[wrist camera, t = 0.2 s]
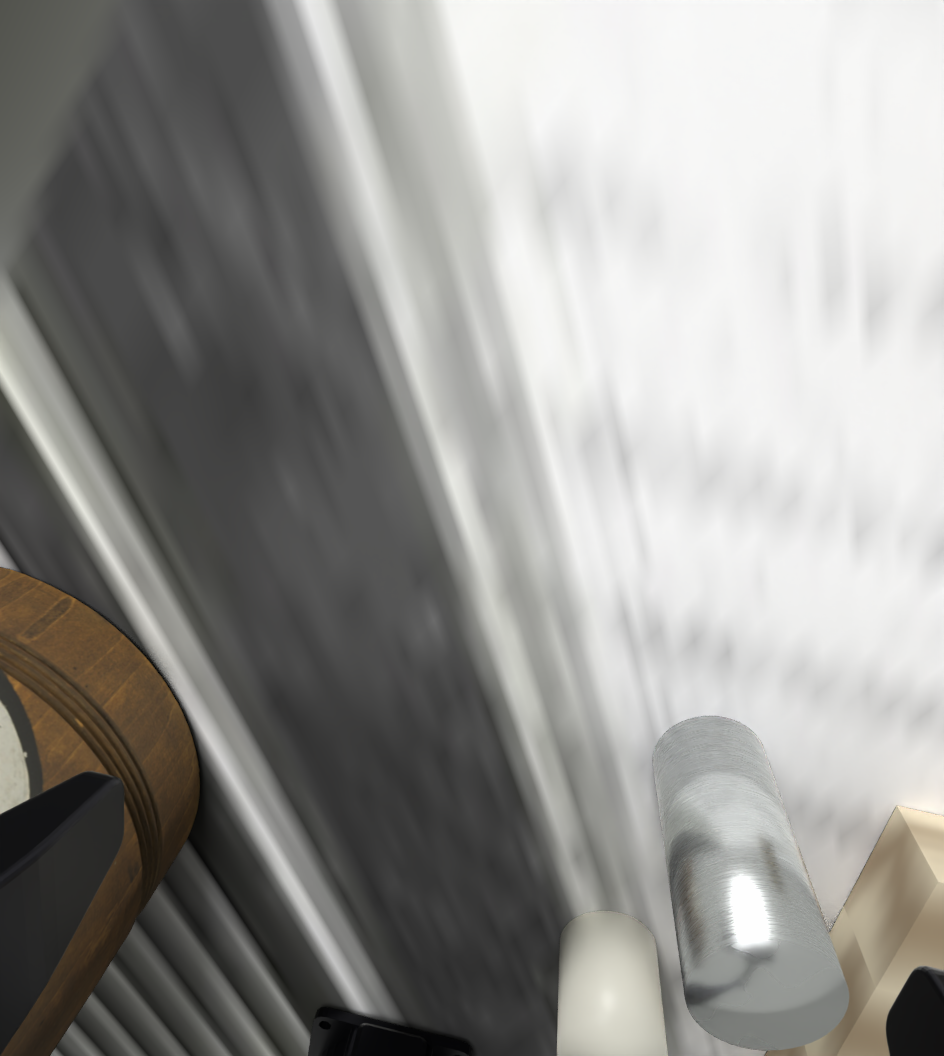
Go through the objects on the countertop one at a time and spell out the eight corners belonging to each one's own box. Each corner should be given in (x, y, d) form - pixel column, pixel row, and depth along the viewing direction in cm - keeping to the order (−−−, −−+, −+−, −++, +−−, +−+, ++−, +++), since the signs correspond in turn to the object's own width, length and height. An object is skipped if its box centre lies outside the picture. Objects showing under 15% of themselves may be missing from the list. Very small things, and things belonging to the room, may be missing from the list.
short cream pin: (641, 989, 29) (651, 1103, 25) (550, 966, 29) (546, 1076, 25) (668, 924, 27) (682, 1034, 24) (571, 900, 27) (570, 1006, 24)
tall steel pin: (745, 815, 25) (815, 1065, 18) (639, 790, 25) (666, 1028, 18) (781, 730, 24) (874, 962, 16) (669, 705, 24) (711, 924, 16)
